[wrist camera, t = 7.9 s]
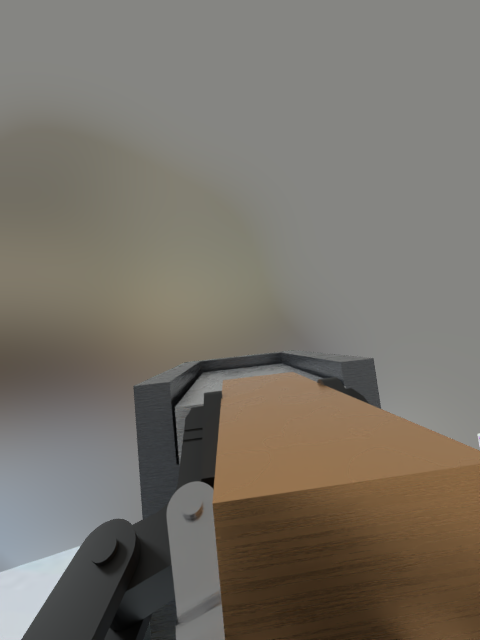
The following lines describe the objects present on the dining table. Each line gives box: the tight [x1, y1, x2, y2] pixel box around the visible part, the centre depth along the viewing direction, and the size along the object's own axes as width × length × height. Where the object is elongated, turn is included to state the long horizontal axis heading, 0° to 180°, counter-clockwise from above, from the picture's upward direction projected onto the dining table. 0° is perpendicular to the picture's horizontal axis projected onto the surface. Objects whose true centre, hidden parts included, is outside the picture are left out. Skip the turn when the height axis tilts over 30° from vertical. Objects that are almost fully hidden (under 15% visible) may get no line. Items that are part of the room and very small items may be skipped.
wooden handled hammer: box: [175, 364, 480, 640], centre depth 16 cm, size 26×9×4 cm, turn 3°
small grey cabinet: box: [134, 350, 381, 640], centre depth 22 cm, size 18×16×36 cm
